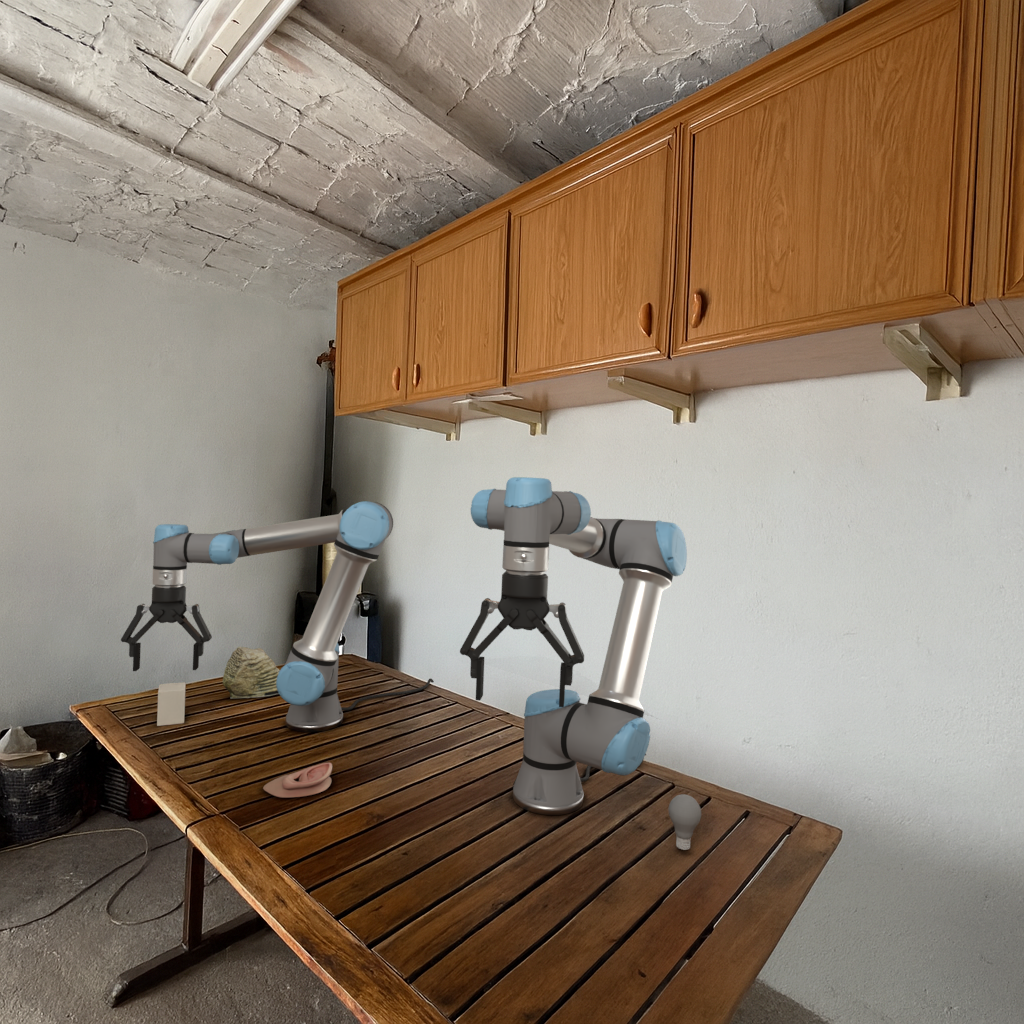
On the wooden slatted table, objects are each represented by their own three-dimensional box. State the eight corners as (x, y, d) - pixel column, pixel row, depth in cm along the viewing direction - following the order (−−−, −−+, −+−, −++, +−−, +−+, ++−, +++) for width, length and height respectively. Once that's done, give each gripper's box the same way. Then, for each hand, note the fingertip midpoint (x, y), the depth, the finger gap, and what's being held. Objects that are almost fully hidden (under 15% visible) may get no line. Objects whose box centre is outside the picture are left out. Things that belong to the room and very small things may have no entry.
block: (158, 716, 176) (159, 684, 176) (184, 714, 179) (185, 682, 178) (157, 726, 169) (158, 692, 169) (184, 723, 172) (185, 689, 172)
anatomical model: (255, 775, 133) (285, 754, 145) (254, 793, 133) (285, 771, 145) (313, 783, 131) (339, 761, 142) (312, 802, 131) (338, 779, 142)
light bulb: (662, 839, 122) (664, 788, 122) (692, 839, 123) (695, 788, 122) (672, 857, 116) (675, 803, 116) (704, 857, 117) (707, 803, 116)
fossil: (218, 695, 195) (220, 647, 195) (278, 685, 208) (279, 640, 207) (228, 703, 189) (230, 653, 188) (289, 692, 201) (290, 645, 201)
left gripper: (108, 587, 153) (105, 674, 153) (219, 588, 159) (216, 672, 159) (119, 582, 160) (116, 666, 161) (225, 584, 166) (222, 664, 167)
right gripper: (445, 570, 101) (440, 702, 102) (602, 579, 98) (596, 715, 98) (455, 565, 109) (450, 688, 109) (602, 573, 105) (596, 699, 106)
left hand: (166, 669), depth 160 cm, fingers open, 13 cm apart
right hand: (520, 701), depth 104 cm, fingers open, 13 cm apart
